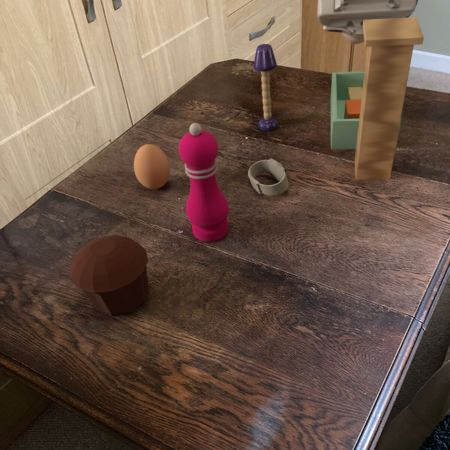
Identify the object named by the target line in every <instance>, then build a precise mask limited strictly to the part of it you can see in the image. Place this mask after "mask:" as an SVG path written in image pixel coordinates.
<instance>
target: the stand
mask: <svg viewBox="0 0 450 450" xmlns="http://www.w3.org/2000/svg"><path fill="white" fill-rule="evenodd" d="M363 34H364V42H363V43H364V47H365V48H366V57H365V63H364V64H365V65H364V71H365V73H364V82H363V91H362V100H361V109H360V118H359V127H358V135H357V144H356V149H355V155H354V174H355V180H356V181H360V180H361V181H372V180H373V181H376V180H377V181H380V180H381V181H385V180H386V181H390V180H391V175H392V170H393V164H394V158H395V152H396V149H397V146H396V142H397V143H398V141H397V137H398V138H399V135H398V131H399V132H400V130H399V126H400V127H401V124H400V120H401V121H402V114H403V107H404V102H405V97H406V91H407V86H408V81H409V76H410V75H409V74H410V69H411V63H412V57H413V51H414V46H417V45H424V39H425V38H424V33H423V31H422V28H421V24H420V22H419V19H418V16H413V17H411V16H409V17H408V18H390V19H371V20H363ZM395 148H396V149H395Z"/></svg>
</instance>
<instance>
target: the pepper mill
mask: <svg viewBox="0 0 450 450" xmlns="http://www.w3.org/2000/svg"><path fill="white" fill-rule="evenodd" d="M178 155H179V158H180V160H181V162H183V163H184V169H185V174H186V175H187V177H189V180H190V181H189V182H190V189H189V193H188V197H187V200H186V207H185V211H186V217H187V219H188V221H189V222H190V223H191V229H192V233H193V234H192V235H193V236H194V237H195V238H196V239H198V240H199V241H202V242H205V243H206V242H208V243H211V242H215V241H218V240H219V241H220V240H221V239H222V238H224V237H225V236H226V235H227V234H228V232H229V221H228V217H229V213H230V206H229V202H228V200H227V197H226V195H225V194H224V193H223V191H222V190H221V188H220V187H219V185H218V181H217V177H216V173H217V172H218V161H217V157H218V155H219V145H218V141H217V139H216V137H215V136H214V135H213V134H212V133H211V132H208V131H207V130H204V129H202V126H201V124H200V123H198V122H193V123H191V124H190V126H189V131H188V132H187V133H186V134H184V135H183V136H182V137H181V138H180V141H179V143H178Z"/></svg>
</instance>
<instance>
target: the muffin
mask: <svg viewBox="0 0 450 450" xmlns="http://www.w3.org/2000/svg"><path fill="white" fill-rule="evenodd" d="M148 263H149V258H148V251H147V248H145V247H143V246H142V245H141V244H140V243H139V242H138V241H136V240H134V238H132V237H129V236H124V235H119V234H112V235H103V236H101V237H98V238H95V239H93V240H91V241H89V242H88V243H87V244H85V245H84V246H82V247H81V248H79V250H78V252H77V253H76V255H75V256H74V258H73V259H72V261H71V264H70V267H69V277H70V279H69V280H70V281H71V282H72V283H73V284H74V285H75V286H76V288H78V289H79V290H82V291H83V293H84V294H85V295H86V297H87V299H89V301H90V302H91V304H92V306H94V308H95V309H96V310H97V311H98V312H101V313H104V312H105V314H107V315H109V316H111V317H112V316H113V315H114V316H117V315H116V314H118V315H121V313H122V314H129V313H128V312H130V313H132V312H133V311H134V310H135V309H136V308H137V307H139V306H141V305H143V302H144V303H145V300H146V296H147V293H148V292H149V279H148V270H147V265H148ZM140 304H141V305H140ZM134 308H135V309H134ZM133 309H134V310H133ZM132 310H133V311H132Z"/></svg>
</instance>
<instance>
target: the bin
mask: <svg viewBox="0 0 450 450" xmlns="http://www.w3.org/2000/svg"><path fill="white" fill-rule="evenodd" d="M364 73H365V70H363V71H360V70H359V71H333V72H332V73H331V87H330V88H331V89H330V150H356V144H357V135H358V127H359V119H344V112H345V101H346V100H347V93H348V87H362V90H363V82H364ZM401 123H402V119H401V120H400V126H399V131H398V137H397V142H396V148H395V150H396V149H397V146H398V141H399V135H400V129H401Z"/></svg>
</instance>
